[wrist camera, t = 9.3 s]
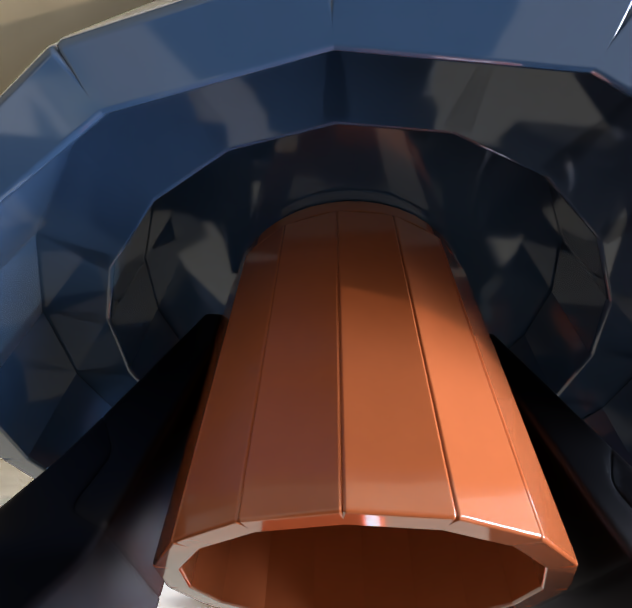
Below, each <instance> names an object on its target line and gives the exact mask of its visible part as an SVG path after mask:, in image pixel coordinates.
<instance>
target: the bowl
mask: <svg viewBox="0 0 632 608" xmlns="http://www.w3.org/2000/svg"><path fill="white" fill-rule="evenodd" d="M340 201H365V202H372V203H379V204H384V205H388V206H391V207H395V208H398V209H401V210H403V211H406V212H408V213H410V214H413V215H415V216H416V217H418V218H420V219H421V220H423V221H425V222H427V223H428V224H429V225H430V226H432V227H433V228H434V229H435V230H437V231H438V232H439V233H440V234H441V235H442V236H443V238H444V239H445V240H446V241H447V242H448V243H449V245H450V246H451V248H452V250H453V251H454V253H455V255H456V257H457V260H458V262H459V264H460V265H461V266H462V268H463V269H464V271H465V274H466V276H467V279H468V281H469V284H470V286H471V289H472V291H473V294H474V297H475V299H476V302H477V304H478V307H479V309H480V312H481V315H482V317H483V320H484V322H485V325H486V327H487V330H488V333H489V334H493V335H495V336H496V337H497V338H498V339H499V340H500V341H501V342H502V343H503V344H504V345H505V346H506V347H507V348H508V349H509V350H510V351H512V352H513V353H514V354H515V355H516V356H517V357H518V358H519V359H520V360H521V361H522V362H523V363H524V364H525V365H526V366H527V367H528V368H529V369H530V370H531V371H532V372H533V373H534V374H535V375H536V376H537V377H539V378H540V379H541V380H542V381H543V382H544V383H545V384H546V385H547V386H548V387H549V388H550V389H551V390H552V391H553V392H554V393H555V394H556V395H557V396H558V397H559V398H560V399H561V400H562V401H563V402H564V403H566V404H567V405H568V406H569V407H570V408H571V409H572V410H573V411H574V412H575V413H576V414H577V415H578V416H579V417H580V418H581V419H582V420H583V421H584V422H585V423H586V424H587V425H588V426H589V427H590V428H591V429H593V430H594V431H595V432H596V433H597V434H598V435H599V436H600V437H601V438H602V439H603V440H604V441H605V442H606V443H607V444H608V445H609V446H610V447H611V448H612V451H616V452H617V453H618V454H619V455H620V456H621V457H622V458H623V459H624V460H625V461H626V462H627V463H628V464H629V465H630V466H631V467H632V0H155V1H153V2H151V3H148V4H145V5H143V6H140V7H138V8H135V9H132V10H130V11H127V12H125V13H122V14H120V15H117V16H115V17H112V18H110V19H107V20H105V21H102V22H100V23H97V24H95V25H92V26H89V27H87V28H84V29H82V30H79V31H77V32H74V33H72V34H69V35H67V36H64V37H62V38H61V39H60V40H59V41H58V42H56V43H54V44H51V45H49V46H47V47H46V48H45V49H44V51H43V52H42V53H41V54H40V55H39V56H38V57H37V58H36V59H35V60H34V61H33V62H32V63H31V64H30V65H29V66H28V67H27V68H26V69H25V70H24V71H23V72H22V73H21V74H20V75H19V76H18V77H17V78H16V79H15V80H14V81H13V82H12V83H11V85H10V86H9V87H8V88H7V89H6V90H5V91H4V92H3V93H2V94H1V95H0V458H2V459H3V460H5V461H6V462H8V463H10V464H11V465H13V466H14V467H16V468H18V469H19V470H21V471H23V472H24V473H26V474H27V475H29V476H31V477H32V478H34V479H35V478H36V477H38V476H39V475H40V474H41V473H42V472H44V471H45V470H46V469H47V468H48V467H49V466H51V465H52V464H53V463H54V462H55V461H56V460H57V459H59V458H60V457H61V456H62V455H63V454H64V453H66V452H67V451H68V450H69V449H70V448H71V447H72V446H73V445H74V444H75V443H76V442H77V441H78V440H79V439H80V438H81V437H83V436H84V435H85V434H86V433H87V432H88V431H89V430H90V429H91V428H92V427H93V426H94V425H95V424H96V423H97V422H98V421H99V420H100V419H101V418H104V415H105V414H106V413H107V412H108V411H109V410H110V409H111V408H112V407H113V406H114V405H115V404H116V403H117V402H118V401H119V400H120V399H121V398H122V397H123V396H124V395H125V394H126V393H127V392H128V391H129V390H130V389H131V388H132V387H133V386H134V385H135V384H136V383H137V382H138V381H139V380H140V379H141V378H142V377H143V376H144V375H145V374H146V373H147V372H148V371H149V370H150V369H151V368H152V367H153V366H154V365H155V364H156V363H157V362H158V361H159V360H160V359H161V358H162V357H163V356H164V355H165V354H166V353H167V352H168V351H169V350H170V349H171V348H172V347H173V346H174V345H176V344H177V343H178V342H179V341H180V340H181V339H182V338H183V337H184V336H185V335H186V334H187V333H188V332H189V331H190V330H191V329H192V328H193V327H194V326H195V325H196V324H197V323H198V322H199V321H200V320H201V319H202V318H203V317H204V316H205V315H206V314H221V315H223V314H224V310H225V307H226V303H227V300H228V296H229V293H230V289H231V286H232V284H233V282H234V280H235V278H236V275H237V271H238V268H239V266H240V263H241V260H242V258H243V257H244V255H245V253H246V251H247V250H248V248H249V247H250V246H251V244H252V243H253V242H254V241H255V240H256V238H257V237H258V236H260V235H261V234H262V233H263V232H264V231H265V230H266V229H267V228H269V227H270V226H272V225H273V224H275V223H276V222H278V221H279V220H280V219H282V218H284V217H286V216H288V215H290V214H292V213H294V212H297V211H300V210H302V209H305V208H308V207H311V206H315V205H320V204H324V203H330V202H340Z"/></svg>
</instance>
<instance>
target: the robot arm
mask: <svg viewBox="0 0 632 608" xmlns="http://www.w3.org/2000/svg"><path fill="white" fill-rule="evenodd" d="M222 317H223V315H221V314H206V315H205V316H204V317H203V318H202V319H201V320H200V321H199V322H198V323H197V324H196V325H195V326H194V327H193V328H192V329H191V330H190V331H189V332H188V333H187V334H186V335H185V336H184V337H183V338H182V339H181V340H180V341H179V342H178V343H177V344H176V345H174V346H173V347H172V348H171V349H170V350H169V351H168V352H167V353H166V354H165V355H164V356H163V357H162V358H161V359H160V360H159V361H158V362H157V363H156V364H155V365H154V366H153V367H152V368H151V369H150V370H149V371H148V372H147V373H146V374H145V375H144V376H143V377H142V378H141V379H140V380H139V381H138V382H137V383H136V384H135V385H134V386H133V387H132V388H131V389H130V390H129V391H128V392H127V393H126V394H125V395H124V396H123V397H122V398H121V399H120V400H119V401H118V402H117V403H116V404H115V405H114V406H113V407H112V408H111V409H110V410H109V411H108V412H107V413H106V414H105V415H104V418H101V419H100V420H99V421H98V422H97V423H96V424H95V425H94V426H93V427H92V428H91V429H90V430H89V431H88V432H87V433H86V434H85V435H84V436H83V437H81V438H80V439H79V440H78V441H77V442H76V443H75V444H74V445H73V446H72V447H71V448H70V449H69V450H68V451H67V452H66V453H64V454H63V455H62V456H61V457H60V458H59V459H57V460H56V461H55V462H54V463H53V464H52V465H51V466H49V467H48V468H47V469H46V470H45V471H44V472H42V473H41V474H40V475H39V476H38V477H36V478H35V479H34V480H33V481H32V482H30V483H29V484H28V485H27V486H26V487H24V488H23V489H22V490H21V491H20V492H18V493H17V494H16V495H15V496H14V497H13V498H11V499H10V500H9V501H8V502H7V503H5V504H4V505H3V506H2V507H1V508H0V608H157V606H158V602H159V596H160V595H161V592H162V588H163V585H164V580H163V579H162V578H161V576H160V575H159V573H158V572H157V571H156V569H155V568H154V566H153V560H154V557H155V553H156V550H157V546H158V542H159V539H160V535H161V532H162V528H163V525H164V521H165V518H166V514H167V511H168V507H169V504H170V500H171V497H172V493H173V490H174V486H175V483H176V479H177V476H178V472H179V469H180V465H181V462H182V458H183V454H184V451H185V447H186V444H187V440H188V437H189V433H190V430H191V426H192V423H193V419H194V416H195V412H196V409H197V405H198V402H199V398H200V395H201V391H202V388H203V384H204V381H205V377H206V374H207V370H208V366H209V363H210V359H211V356H212V352H213V349H214V345H215V342H216V338H217V335H218V331H219V328H220V324H221V321H222ZM489 335H490V338H491V340H492V343H493V345H494V348H495V351H496V353H497V356H498V358H499V361H500V363H501V366H502V369H503V371H504V374H505V376H506V379H507V381H508V384H509V387H510V389H511V392H512V394H513V397H514V399H515V402H516V405H517V407H518V410H519V412H520V415H521V417H522V420H523V423H524V425H525V428H526V430H527V433H528V435H529V438H530V441H531V443H532V446H533V448H534V451H535V453H536V456H537V459H538V461H539V464H540V466H541V469H542V471H543V474H544V477H545V479H546V482H547V484H548V487H549V489H550V492H551V495H552V497H553V500H554V502H555V505H556V507H557V510H558V513H559V515H560V518H561V520H562V523H563V525H564V528H565V530H566V533H567V536H568V538H569V541H570V543H571V546H572V548H573V551H574V554H575V556H576V559H577V561H578V567H577V569H576V572H575V575H574V578H573V581H572V583H571V586H570V588H568V589H567V590H565V591H563V592H561V593H559V594H557V595H555V596H553V597H551V598H549V599H547V600H545V601H543V602H541V603H539V604H537V605H535V606H531V607H530V608H632V467H631V466H630V465H629V464H628V463H627V462H626V461H625V460H624V459H623V458H622V457H621V456H620V455H619V454H618V453H617V452H616V451H612V448H611V447H610V446H609V445H608V444H607V443H606V442H605V441H604V440H603V439H602V438H601V437H600V436H599V435H598V434H597V433H596V432H595V431H594V430H593V429H591V428H590V427H589V426H588V425H587V424H586V423H585V422H584V421H583V420H582V419H581V418H580V417H579V416H578V415H577V414H576V413H575V412H574V411H573V410H572V409H571V408H570V407H569V406H568V405H567V404H566V403H564V402H563V401H562V400H561V399H560V398H559V397H558V396H557V395H556V394H555V393H554V392H553V391H552V390H551V389H550V388H549V387H548V386H547V385H546V384H545V383H544V382H543V381H542V380H541V379H540V378H539V377H537V376H536V375H535V374H534V373H533V372H532V371H531V370H530V369H529V368H528V367H527V366H526V365H525V364H524V363H523V362H522V361H521V360H520V359H519V358H518V357H517V356H516V355H515V354H514V353H513V352H512V351H510V350H509V349H508V348H507V347H506V346H505V345H504V344H503V343H502V342H501V341H500V340H499V339H498V338H497V337H496V336H495V335H493V334H489Z"/></svg>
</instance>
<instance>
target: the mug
mask: <svg viewBox="0 0 632 608" xmlns="http://www.w3.org/2000/svg"><path fill="white" fill-rule="evenodd" d="M153 566H154V568H155V569H156V571H157V572H158V573H159V575H160V576H161V578H162V579H163V580H164V582H165V583H166V585H167V586H168V587H170V588H171V589H174V590H176V591H178V592H180V593H182V594H185V595H187V596H189V597H191V598H193V599H196V600H198V601H200V602H202V603H204V604H207V605H211V606H215V607H219V608H530V607H531V606H535V605H537V604H539V603H541V602H543V601H545V600H547V599H549V598H551V597H553V596H555V595H557V594H559V593H561V592H563V591H565V590H567V589H568V588H570V586H571V583H572V581H573V578H574V575H575V572H576V569H577V567H578V561H577V559H576V556H575V554H574V551H573V548H572V546H571V543H570V541H569V538H568V536H567V533H566V530H565V528H564V525H563V523H562V520H561V518H560V515H559V513H558V510H557V507H556V505H555V502H554V500H553V497H552V495H551V492H550V489H549V487H548V484H547V482H546V479H545V477H544V474H543V471H542V469H541V466H540V464H539V461H538V459H537V456H536V453H535V451H534V448H533V446H532V443H531V441H530V438H529V435H528V433H527V430H526V428H525V425H524V423H523V420H522V417H521V415H520V412H519V410H518V407H517V405H516V402H515V399H514V397H513V394H512V392H511V389H510V387H509V384H508V381H507V379H506V376H505V374H504V371H503V369H502V366H501V363H500V361H499V358H498V356H497V353H496V351H495V348H494V345H493V343H492V340H491V338H490V335H489V333H488V330H487V327H486V325H485V322H484V320H483V317H482V315H481V312H480V309H479V307H478V304H477V302H476V299H475V297H474V294H473V291H472V289H471V286H470V284H469V281H468V279H467V276H466V274H465V271H464V269H463V268H462V266H461V265H460V264H459V262H458V260H457V257H456V255H455V253H454V251H453V250H452V248H451V246H450V245H449V243H448V242H447V241H446V240H445V239H444V238H443V236H442V235H441V234H440V233H439V232H438V231H437V230H435V229H434V228H433V227H432V226H430V225H429V224H428V223H427V222H425V221H423V220H421V219H420V218H418V217H416V216H415V215H413V214H410V213H408V212H406V211H403V210H401V209H398V208H395V207H391V206H388V205H384V204H379V203H372V202H365V201H340V202H330V203H324V204H320V205H315V206H311V207H308V208H305V209H302V210H300V211H297V212H294V213H292V214H290V215H288V216H286V217H284V218H282V219H280V220H279V221H278V222H276V223H275V224H273V225H272V226H270V227H269V228H267V229H266V230H265V231H264V232H263V233H262V234H261V235H260V236H258V237H257V238H256V240H255V241H254V242H253V243H252V244H251V246H250V247H249V248H248V250H247V251H246V253H245V255H244V257H243V258H242V260H241V263H240V266H239V268H238V271H237V275H236V278H235V280H234V282H233V284H232V286H231V289H230V293H229V296H228V300H227V303H226V307H225V310H224V314H223V317H222V321H221V324H220V328H219V331H218V335H217V338H216V342H215V345H214V349H213V352H212V356H211V359H210V363H209V366H208V370H207V374H206V377H205V381H204V384H203V388H202V391H201V395H200V398H199V402H198V405H197V409H196V412H195V416H194V419H193V423H192V426H191V430H190V433H189V437H188V440H187V444H186V447H185V451H184V454H183V458H182V462H181V465H180V469H179V472H178V476H177V479H176V483H175V486H174V490H173V493H172V497H171V500H170V504H169V507H168V511H167V514H166V518H165V521H164V525H163V528H162V532H161V535H160V539H159V542H158V546H157V550H156V553H155V557H154V560H153Z"/></svg>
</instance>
